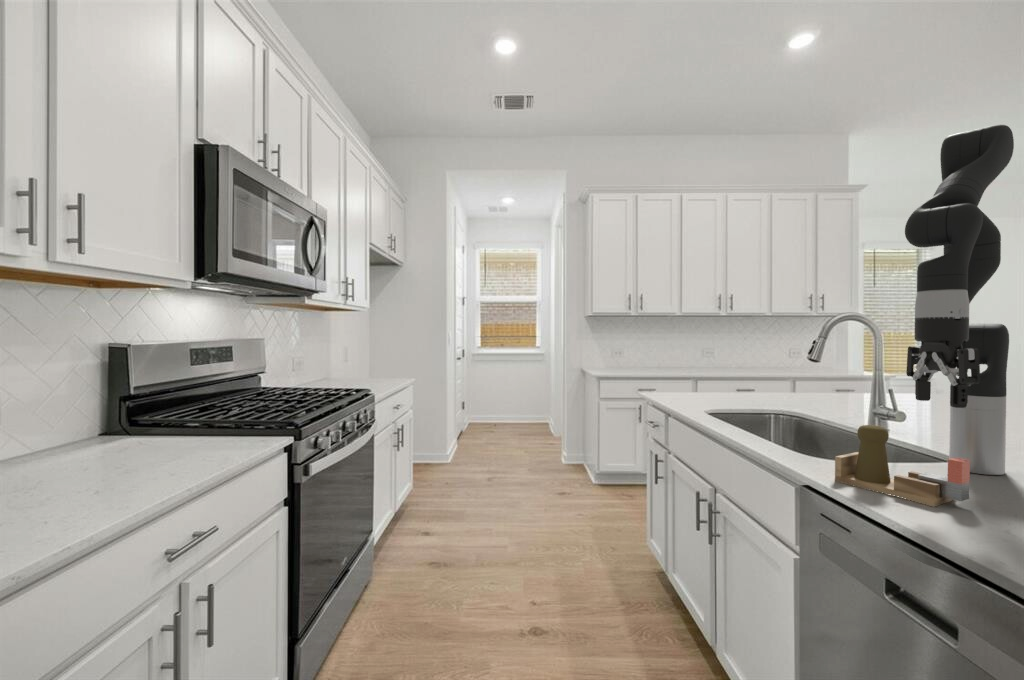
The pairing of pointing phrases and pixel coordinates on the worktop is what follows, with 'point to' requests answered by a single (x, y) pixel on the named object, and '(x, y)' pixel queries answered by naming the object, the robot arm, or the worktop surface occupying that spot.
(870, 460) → the olive rounded piece
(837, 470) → the light brown wooden holder
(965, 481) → the red grey l-shaped block
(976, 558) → the worktop surface
